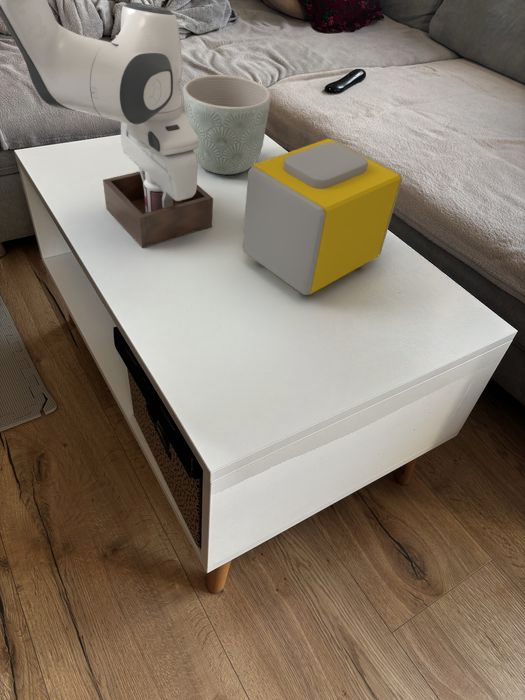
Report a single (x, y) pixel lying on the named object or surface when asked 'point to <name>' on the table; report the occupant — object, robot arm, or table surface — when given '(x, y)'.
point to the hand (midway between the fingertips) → (158, 198)
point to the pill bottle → (152, 194)
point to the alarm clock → (318, 213)
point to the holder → (160, 224)
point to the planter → (227, 121)
